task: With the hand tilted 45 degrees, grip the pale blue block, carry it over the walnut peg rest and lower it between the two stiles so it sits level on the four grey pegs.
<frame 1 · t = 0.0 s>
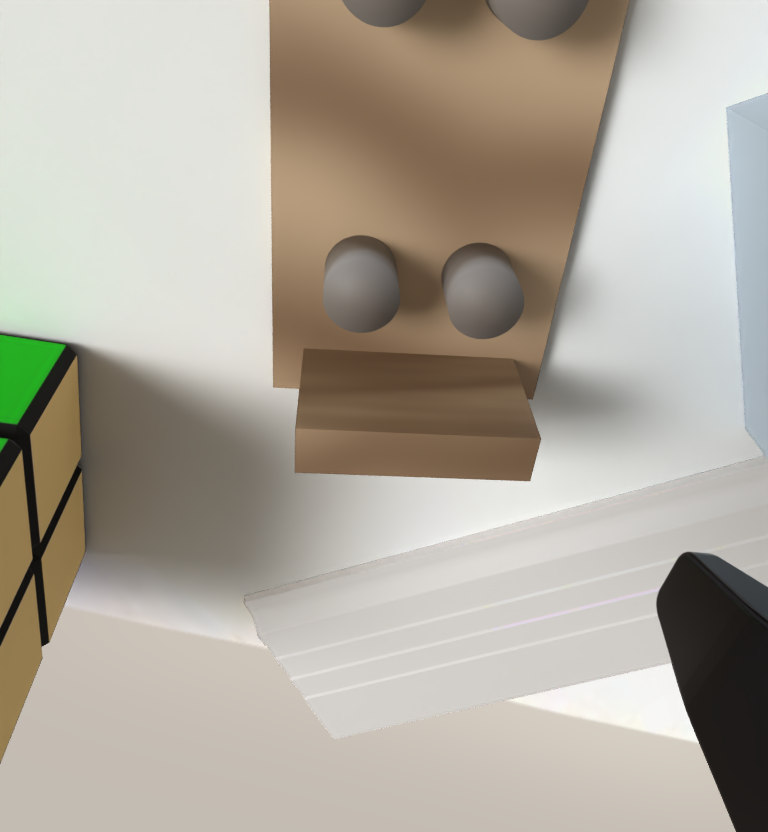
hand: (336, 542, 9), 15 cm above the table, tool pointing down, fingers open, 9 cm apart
baseboard molding: (612, 560, 32), on the table
peg rest: (433, 135, 20), on the table
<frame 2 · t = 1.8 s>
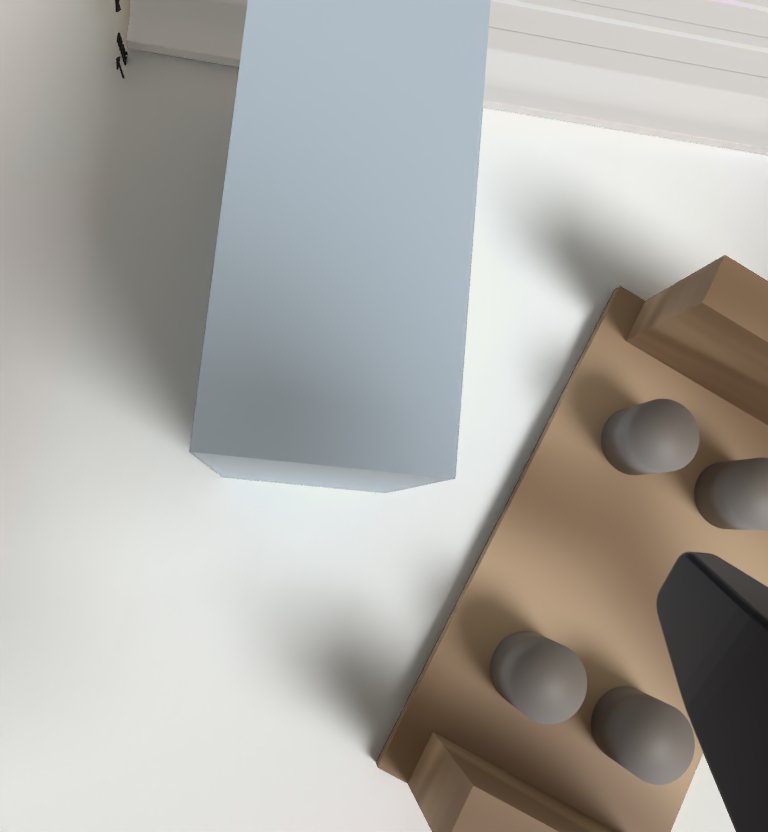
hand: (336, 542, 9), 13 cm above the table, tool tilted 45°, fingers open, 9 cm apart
baseboard molding: (579, 21, 27), on the table
peg rest: (623, 577, 23), on the table
pale blue block: (324, 298, 23), on the table
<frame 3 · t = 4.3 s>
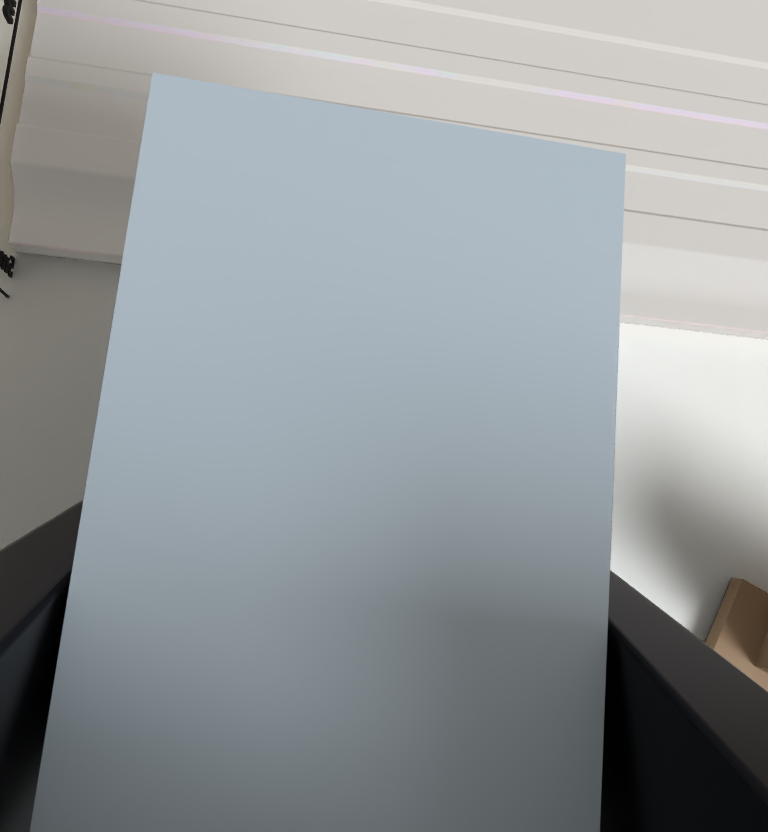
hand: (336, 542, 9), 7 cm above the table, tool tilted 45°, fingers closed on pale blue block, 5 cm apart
baseboard molding: (670, 170, 19), on the table
pale blue block: (302, 612, 15), on the table, touching gripper
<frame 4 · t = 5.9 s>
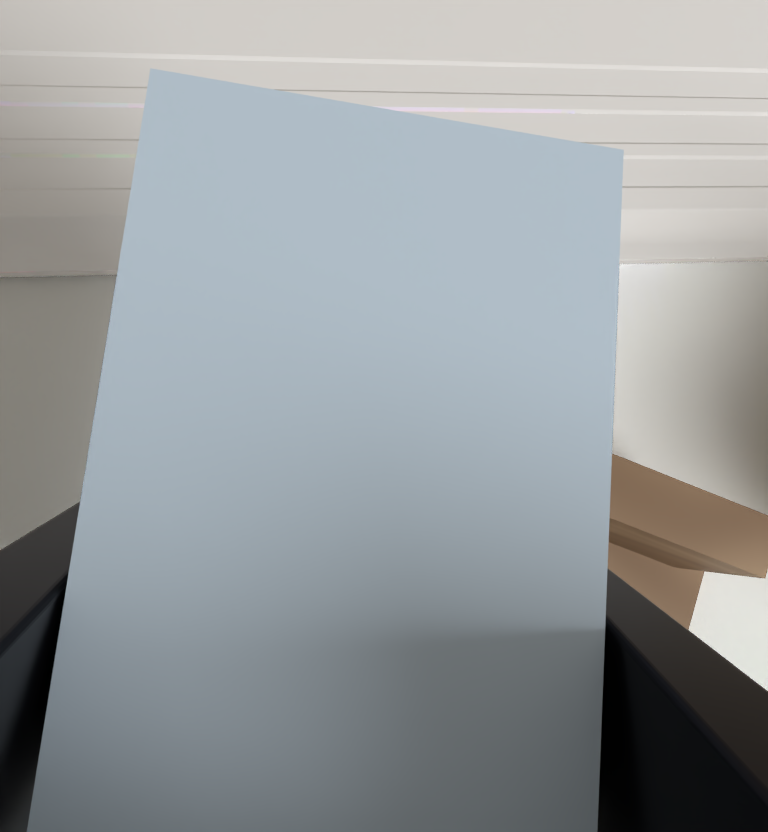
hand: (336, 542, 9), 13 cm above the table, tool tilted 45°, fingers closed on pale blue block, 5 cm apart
baseboard molding: (397, 149, 25), on the table
peg rest: (503, 744, 22), on the table
pale blue block: (301, 610, 15), point 7 cm above the table, touching gripper
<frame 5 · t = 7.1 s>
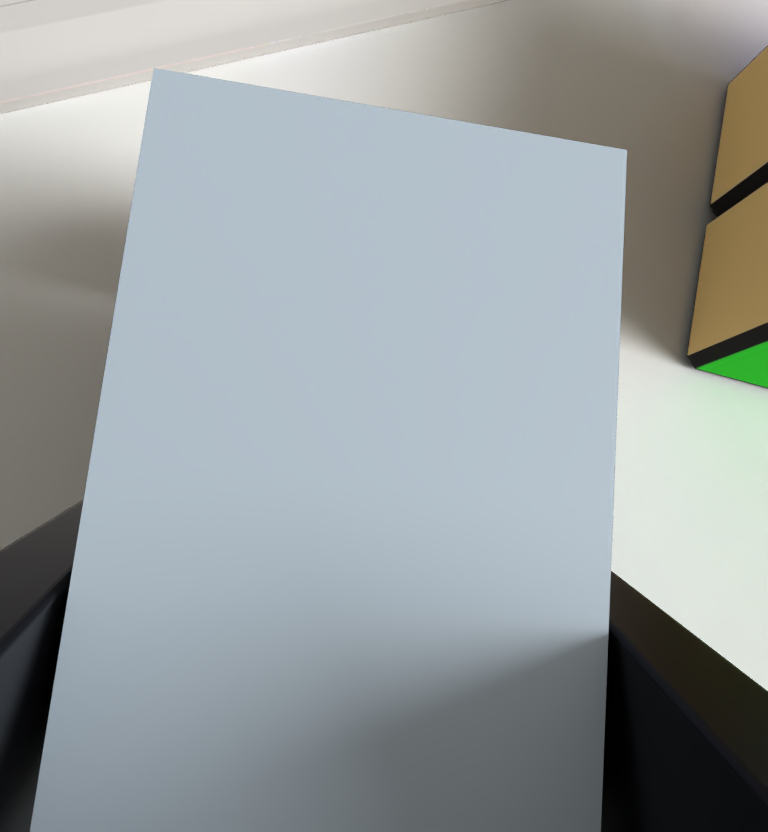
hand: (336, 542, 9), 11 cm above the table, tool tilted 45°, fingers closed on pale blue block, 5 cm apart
pale blue block: (302, 611, 15), point 4 cm above the table, touching gripper
when the fingers open (10 cm above the table, at t = 7.6 s): pale blue block drops 1 cm, resting on peg rest.
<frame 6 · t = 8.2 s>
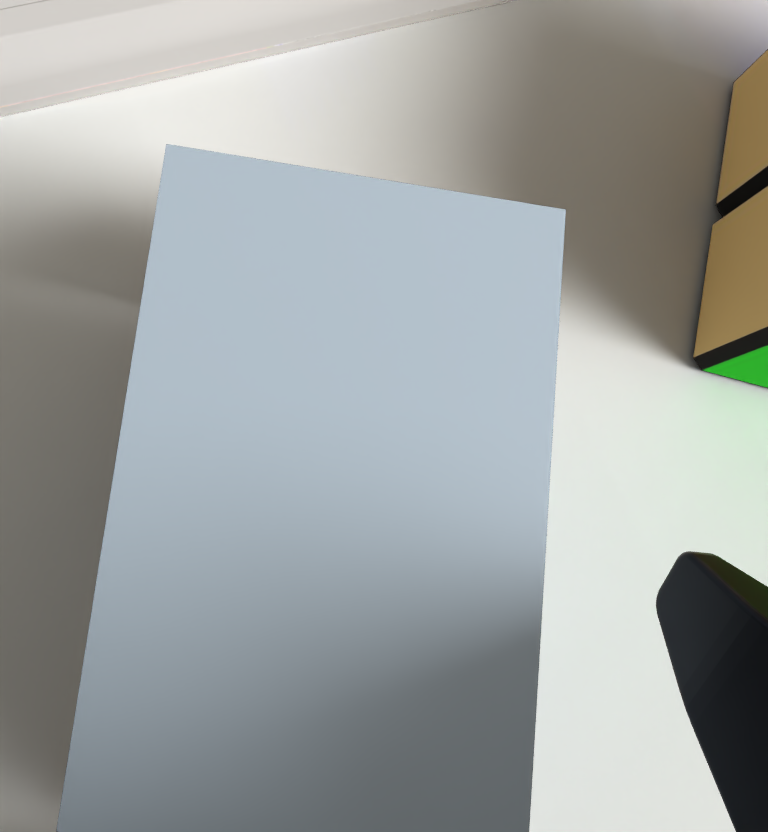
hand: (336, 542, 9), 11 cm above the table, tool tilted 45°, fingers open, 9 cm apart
pale blue block: (295, 602, 17), point 2 cm above the table, touching peg rest
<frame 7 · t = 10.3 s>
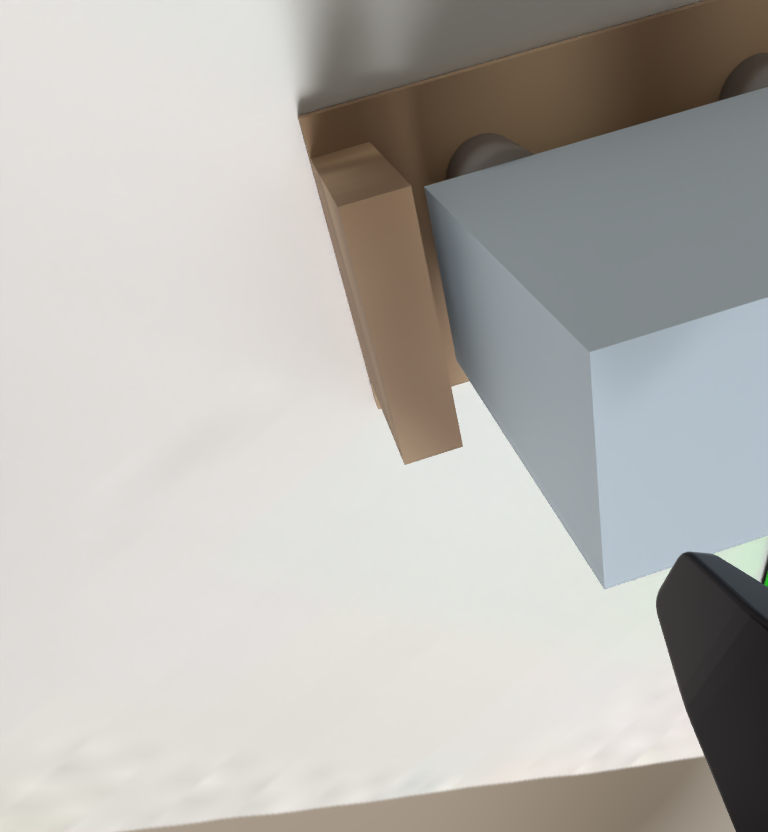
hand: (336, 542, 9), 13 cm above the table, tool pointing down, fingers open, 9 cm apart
peg rest: (616, 194, 22), on the table
pale blue block: (654, 216, 19), point 2 cm above the table, touching peg rest
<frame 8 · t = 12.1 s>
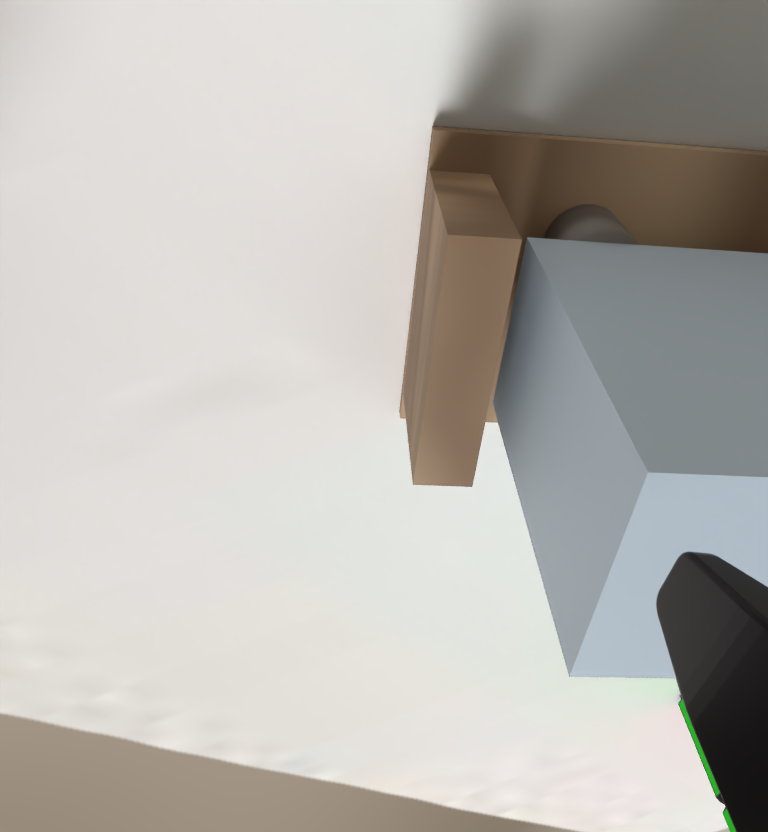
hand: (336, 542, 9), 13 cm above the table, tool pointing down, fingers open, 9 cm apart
peg rest: (693, 302, 22), on the table
pale blue block: (723, 338, 20), point 2 cm above the table, touching peg rest
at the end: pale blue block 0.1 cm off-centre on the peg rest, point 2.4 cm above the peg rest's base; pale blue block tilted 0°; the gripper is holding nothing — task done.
